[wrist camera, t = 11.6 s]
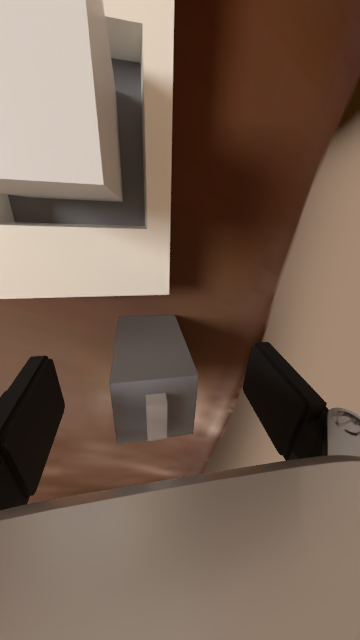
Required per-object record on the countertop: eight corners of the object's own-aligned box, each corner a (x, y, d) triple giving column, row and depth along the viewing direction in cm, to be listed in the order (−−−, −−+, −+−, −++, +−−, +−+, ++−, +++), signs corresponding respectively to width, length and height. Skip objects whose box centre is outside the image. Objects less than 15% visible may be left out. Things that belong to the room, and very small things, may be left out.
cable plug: (173, 359, 16) (196, 445, 10) (122, 363, 15) (116, 457, 9) (174, 314, 14) (202, 385, 9) (118, 317, 14) (107, 395, 8)
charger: (123, 201, 11) (102, 184, 4) (32, 197, 10) (-214, 165, 3) (115, 90, 9) (49, -359, 2) (5, 75, 8) (-763, -732, 1)
